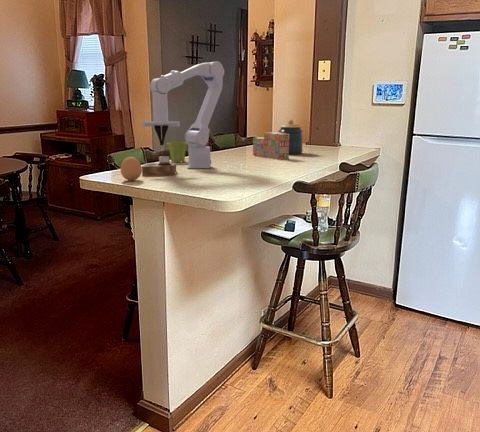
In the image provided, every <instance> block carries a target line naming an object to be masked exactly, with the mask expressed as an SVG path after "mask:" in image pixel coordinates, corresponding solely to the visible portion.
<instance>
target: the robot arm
mask: <svg viewBox="0 0 480 432" xmlns="http://www.w3.org/2000/svg"><path fill="white" fill-rule="evenodd" d="M225 72H226V71H225V69H224V67H223V63H221V62H220V61H218V60H217V61H211V62H209V61H208V62H202V63H198V64H195V65H193V66H191V67H189V68H187V69H185V70H183V71H179V70H174V69H172V70H170V71H169V73H167V74H165V75H164V74H162V75H160V77H157V78H153V79H152V80H151V81H150V84H149V86H148V87H149V88H148V89H149V90H150V92H151V94H152V108H153V109H152V110H153V111H152V112H153V113H152V114H153V116H152V117H153V121H152V120H151V121H150V120H149V121H142V123H141V124H142V125H141V127H142V128H143V127H153V128H154V130H155V133H156V135H157V137H158V141H159V146H164V145H165V138H166V134H167V131H168V129H169V127H181V124H180V123H181V122H180V121H179V120H178V121H177V120H175V121H174V120H173V121H172V120H171V121H170V120H169V107H168V106H169V105H168V104H169V102H168V93H169V91H171V90H173V89H176V88H177V87H179V86H182V85H183V84H184V81H185V80H188V79H190V78H193V77H195V76H200V77H201V78H202V80H203V81H204V82H205V84H206V85H207V87H208V88H207V91H206V94H205V96H204V99H203V101H202V104H201V107H200V109H199V112H198V114H197V117H196V119H195V122H194V123H192V124H191V125H190V126H189V129H188V130H187V131H186V132H185V134H184V140H185V142H186V143H187V147H188V165H187V168H186V169H211V165H212V159H211V146H207V145H208V142H209V138H210V137H209V134H210V132H211V130H210V128H209V127H208V126H209V124H210V121H211V119H212V116H213V114H214V111H215V108H216V106H217V104H218V101H219V99H220V96H221V93H222V90H223V85H224V84H223V83H224V81H223V80H224V79H223V78H224V76H225Z"/></svg>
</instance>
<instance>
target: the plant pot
mask: <svg viewBox="0 0 480 432" xmlns="http://www.w3.org/2000/svg"><path fill="white" fill-rule="evenodd" d="M166 145H167V147H168V149H169V150H168V151H169V158H170V161H175V162H174V163H182V162H181V161H184V162H185V160H186V159H185V158H186V149H187V145H188V143H187V142H186V141H185V142H184V141H182V142H181V141H179V142H167V143H166Z"/></svg>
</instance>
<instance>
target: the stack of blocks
mask: <svg viewBox="0 0 480 432" xmlns="http://www.w3.org/2000/svg"><path fill="white" fill-rule="evenodd" d="M253 155H255V157H260V158H266V159H272V160H280V161H281V160H288V159H290V156H289V155H290V154H289V134H286V133H279V132H275V131H274V132H273V131H272V132H271V131H270V132H269V131H268V132H263V136H261V137H259V136H258V137H253V138H252V156H253Z"/></svg>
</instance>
